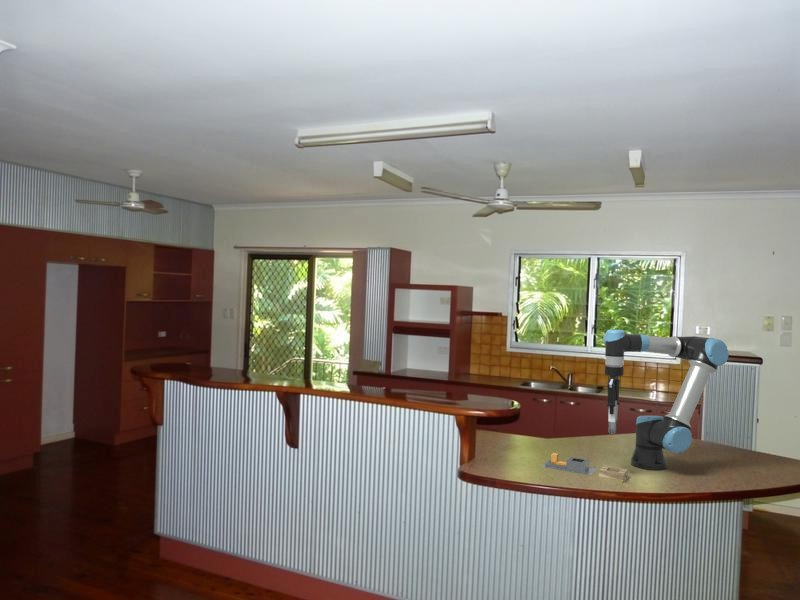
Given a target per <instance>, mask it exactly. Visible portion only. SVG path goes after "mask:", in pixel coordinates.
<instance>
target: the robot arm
mask: <svg viewBox="0 0 800 600" xmlns="http://www.w3.org/2000/svg"><path fill="white" fill-rule="evenodd" d="M602 339H603V340H602V342H603V343H602V344H603V345H604V346H605V352H604V354H605V356H604V357H603V360H605V361H604V363H605V364H604V365H605V366H604V375H606V376H609V379H608V380H607V383H606V384H607V404H606V406H607V407H608V423H609V422H615V414H616V407H615V400H617V409H618V406H620V399H619V398H620V383H621V380H620V379H619V377H623V376H624V369H625V368H624V366H625V353H641V352H644V353H653V354H663V355H668V356H669V357H672V358H678V359H682V360H684V361H685V360H686V361H688V363H689V365H690V366H689V368H688V371H687V373H686V375H685V378H684V380H683V382H682V385H681V387H680V388H679V391H678V393H677V396H676V398H675V400H674V402H673V405H672V407H671V409H670V411H669V413H667V414H666V415H664V416H661V415H638V417H636V421H635V447H634V450H633V453H632V455H631V458H630V464H631V466H633V467H636V468H639V469H643V470H649V471H650V470H651V471H663V470H665V469H666V468H667V461H666V458H665V455H664V451H663V449H664V450H666V451H667V452H671V453H677V454H679V453H682V452H685V451H687V450H688V449H689V448H690V446H691V444H692V441H693V437H692V436H693V435H692V434H693V433H692V431H691V429H692V426H691V424H690V422H691V420H692V417H693V414H694V412H695V410H696V407H697V405H698V404H699V401H700V399H701V396H702V394H703V392H704V389H705V387H706V385H707V382H708V380H709V378H710V375H711V374H713V373H716V371H717V369H718V367H719V366H723V365H725V364H726V363H727V361H728V359H729V349H728V346H727V344H726V343H725V342H724V341H723V340H721V339H717V338H715V337H703V336H696V335H694V336H670V337H663V336H654V335H653V336H652V335H646V334H641V333H639V334H638V333H637V334H635V333H627V332H626V333H625V330H623V329H608V330H606V332H605V334H604V335H603V338H602Z"/></svg>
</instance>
